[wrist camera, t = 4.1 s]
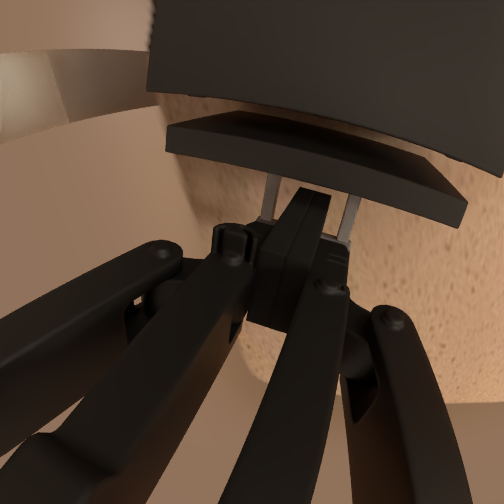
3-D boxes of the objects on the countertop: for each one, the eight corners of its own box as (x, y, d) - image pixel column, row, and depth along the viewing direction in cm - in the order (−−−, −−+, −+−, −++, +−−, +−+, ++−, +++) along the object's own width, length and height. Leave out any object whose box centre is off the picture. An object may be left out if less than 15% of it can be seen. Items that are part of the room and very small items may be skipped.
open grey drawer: (397, 243, 21) (412, 326, 13) (226, 196, 23) (161, 252, 16) (457, -47, 10) (500, -104, 2) (271, -84, 12) (222, -150, 5)
